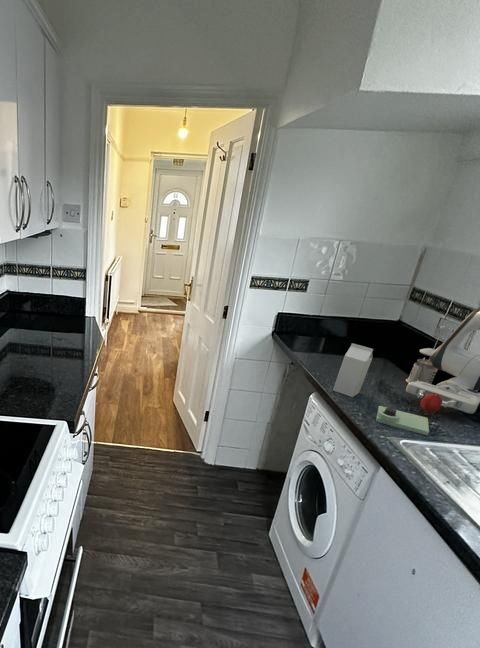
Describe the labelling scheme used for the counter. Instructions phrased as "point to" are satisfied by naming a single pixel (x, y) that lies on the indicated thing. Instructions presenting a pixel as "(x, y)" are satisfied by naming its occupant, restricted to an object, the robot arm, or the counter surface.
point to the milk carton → (353, 370)
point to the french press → (424, 367)
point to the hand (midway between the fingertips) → (431, 400)
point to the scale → (404, 421)
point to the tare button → (390, 412)
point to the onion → (431, 403)
